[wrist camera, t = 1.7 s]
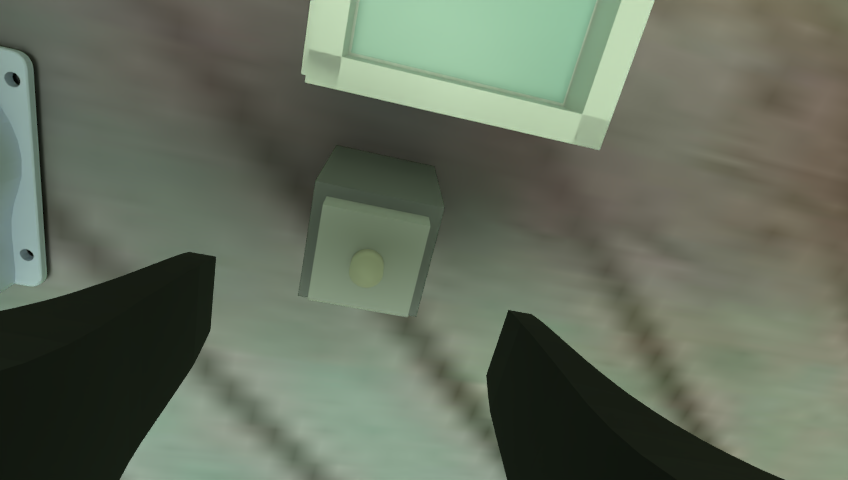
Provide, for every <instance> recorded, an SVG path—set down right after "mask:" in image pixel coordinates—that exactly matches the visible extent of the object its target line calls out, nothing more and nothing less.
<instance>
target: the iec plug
mask: <svg viewBox="0 0 848 480" xmlns="http://www.w3.org/2000/svg"><path fill="white" fill-rule="evenodd" d="M443 212H444V204H443V200H442V196H441V192H440V188H439V184H438V180H437V176H436V172H435V168H434V166H430V165H425V164H421V163H416V162H411V161H407V160H402V159H398V158H393V157H388V156H384V155H379V154H375V153H370V152H365V151H361V150H356V149H352V148H347V147H342V146H338V145H336V147H335V149H334V150H333V152H332V154H331V156H330V157H329V159H328V161H327V162H326V164H325V166H324V167H323V169H322V171H321V172H320V174H319V176H318V178H317V179H316V181H315V187H314V194H313V200H312V207H311V213H310V220H309V227H308V233H307V240H306V246H305V253H304V260H303V266H302V273H301V279H300V286H299V293H298V296H302V297H308V300H312V301H318V302H324V303H329V304H335V305H341V306H346V307H352V308H358V309H364V310H369V311H375V312H381V313H386V314H392V315H398V316H403V317H408V315H409V316H415V317H416V316H417V312H418V308H419V304H420V300H421V296H422V293H423V289H424V285H425V281H426V277H427V273H428V270H429V266H430V262H431V258H432V254H433V250H434V246H435V243H436V239H437V235H438V231H439V227H440V223H441V220H442V216H443Z"/></svg>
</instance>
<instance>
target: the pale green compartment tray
mask: <svg viewBox="0 0 848 480" xmlns="http://www.w3.org/2000/svg"><path fill="white" fill-rule="evenodd" d="M654 1H655V0H310V8H309V15H308V23H307V31H306V39H305V47H304V54H303V62H302V70H301V74H303V75H306V78H305V82H306V83H310V84H314V85H319V86H323V87H327V88H332V89H336V90H340V91H345V92H349V93H353V94H358V95H362V96H366V97H371V98H375V99H380V100H384V101H388V102H393V103H397V104H401V105H406V106H410V107H414V108H419V109H423V110H427V111H432V112H436V113H440V114H445V115H449V116H453V117H458V118H462V119H466V120H471V121H475V122H479V123H484V124H488V125H492V126H497V127H501V128H505V129H510V130H514V131H518V132H523V133H527V134H531V135H536V136H540V137H545V138H549V139H553V140H558V141H562V142H566V143H571V144H575V145H579V146H584V147H588V148H592V149H597V150H600V148H601V145H602V142H603V140H604V137H605V134H606V132H607V129H608V126H609V123H610V121H611V118H612V115H613V112H614V110H615V107H616V104H617V101H618V99H619V96H620V93H621V91H622V88H623V85H624V82H625V80H626V77H627V74H628V71H629V69H630V66H631V63H632V61H633V58H634V55H635V52H636V50H637V47H638V44H639V41H640V39H641V36H642V33H643V31H644V28H645V25H646V22H647V20H648V17H649V14H650V11H651V9H652V6H653V3H654Z"/></svg>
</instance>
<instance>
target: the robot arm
mask: <svg viewBox="0 0 848 480" xmlns="http://www.w3.org/2000/svg"><path fill="white" fill-rule="evenodd" d="M13 73H16V74H17V75H18V76H19V78H20V85H17V84H16V83H15V82H14V80H13ZM27 250H30V251H31V252H32V253H33V255H34V257H33V256H31V255H29V254H28V252H27ZM215 263H216V257H214V256H209V255H203V254H198V253H192V252H187V253H183V254H180V255H177V256H174V257H171V258H169V259H166V260H163V261H161V262H158V263H156V264H153V265H150V266H148V267H145V268H142V269H140V270H137V271H134V272H132V273H129V274H127V275H124V276H121V277H118V278H116V279H113V280H110V281H107V282H104V283H101V284H98V285H95V286H92V287H89V288H86V289H83V290H80V291H77V292H74V293H70V294H67V295H64V296H60V297H56V298H53V299H49V300H45V301H41V302H37V303H33V304H29V305H25V306H21V307H17V308H12V309H8V310H3V311H0V480H120V478H121V476H122V474H123V472H124V470H125V468H126V467H127V465H128V463H129V461H130V460H131V458H132V456H133V455H134V453H135V452H136V450H137V448H138V447H139V445H140V443H141V442H142V440H143V439H144V438H145V436H146V435H147V433H148V432H149V430H150V429H151V427H152V426H153V424H154V423H155V421H156V420H157V418H158V417H159V415H160V414H161V413H162V411H163V410H164V408H165V407H166V405H167V404H168V402H169V401H170V399H171V398H172V396H173V395H174V393H175V392H176V391H177V389H178V388H179V386H180V385H181V383H182V382H183V380H184V379H185V377H186V376H187V374H188V373H189V371H190V369H191V368H192V366H193V365H194V363H195V361H196V359H197V357H198V355H199V353H200V351H201V349H202V347H203V345H204V343H205V340H206V338H207V336H208V334H209V332H210V328H211V315H212V302H213V289H214V276H215ZM46 278H47V267H46V252H45V237H44V222H43V206H42V191H41V176H40V161H39V146H38V131H37V116H36V101H35V86H34V70H33V65H32V62H31V60H30V58H29V57H28V56H27V55H26V54H25V53H23V52H21V51H19V50H15V49H11V48H6V47H2V46H0V293H1V292H2V291H4V290H5V289H7V288H8V287H10V286H12V285H13V284H19V285H25V286H37V285H40V284H41V283H42V282H44V281H45V280H46ZM486 376H487V388H488V398H489V406H490V413H491V417H492V421H493V425H494V429H495V434H496V438H497V442H498V446H499V449H500V453H501V457H502V461H503V465H504V469H505V473H506V477H507V480H784V479H782V478H779V477H777V476H775V475H772V474H770V473H767V472H765V471H763V470H761V469H759V468H756V467H754V466H752V465H750V464H748V463H746V462H744V461H742V460H740V459H738V458H736V457H734V456H732V455H730V454H728V453H726V452H724V451H722V450H720V449H718V448H716V447H714V446H712V445H710V444H709V443H707V442H705V441H703V440H701V439H699V438H698V437H696V436H694V435H692V434H691V433H689V432H687V431H686V430H684V429H682V428H680V427H679V426H677V425H675V424H673V423H672V422H670V421H669V420H667V419H665V418H664V417H662V416H661V415H659V414H657V413H656V412H654V411H653V410H651V409H650V408H648V407H647V406H645V405H644V404H643V403H641V402H640V401H638V400H637V399H635V398H634V397H632V396H631V395H629V394H628V393H627V392H625V391H624V390H623V389H621V388H620V387H619V386H617V385H616V384H615V383H613V382H612V381H611V380H610V379H608V378H607V377H606V376H605V375H603V374H602V373H601V372H599V371H598V370H597V369H596V368H595V367H593V366H592V365H591V364H590V363H589V362H587V361H586V360H585V359H584V358H583V357H582V356H580V355H579V354H578V353H577V352H576V351H575V350H574V349H572V348H571V347H570V346H569V345H568V344H567V343H566V342H564V341H563V340H562V339H561V338H560V337H559V336H558V335H557V334H555V333H554V332H553V331H552V330H551V329H550V328H549V327H547V326H546V325H545V324H544V323H543V322H541V321H540V320H539V319H538V318H536V317H535V316H533V315H532V314H527V313H522V312H516V311H511V310H508V313H507V316H506V319H505V322H504V325H503V328H502V331H501V334H500V337H499V340H498V343H497V346H496V349H495V351H494V354H493V357H492V360H491V363H490V366H489V369H488V372H487V375H486Z"/></svg>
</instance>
